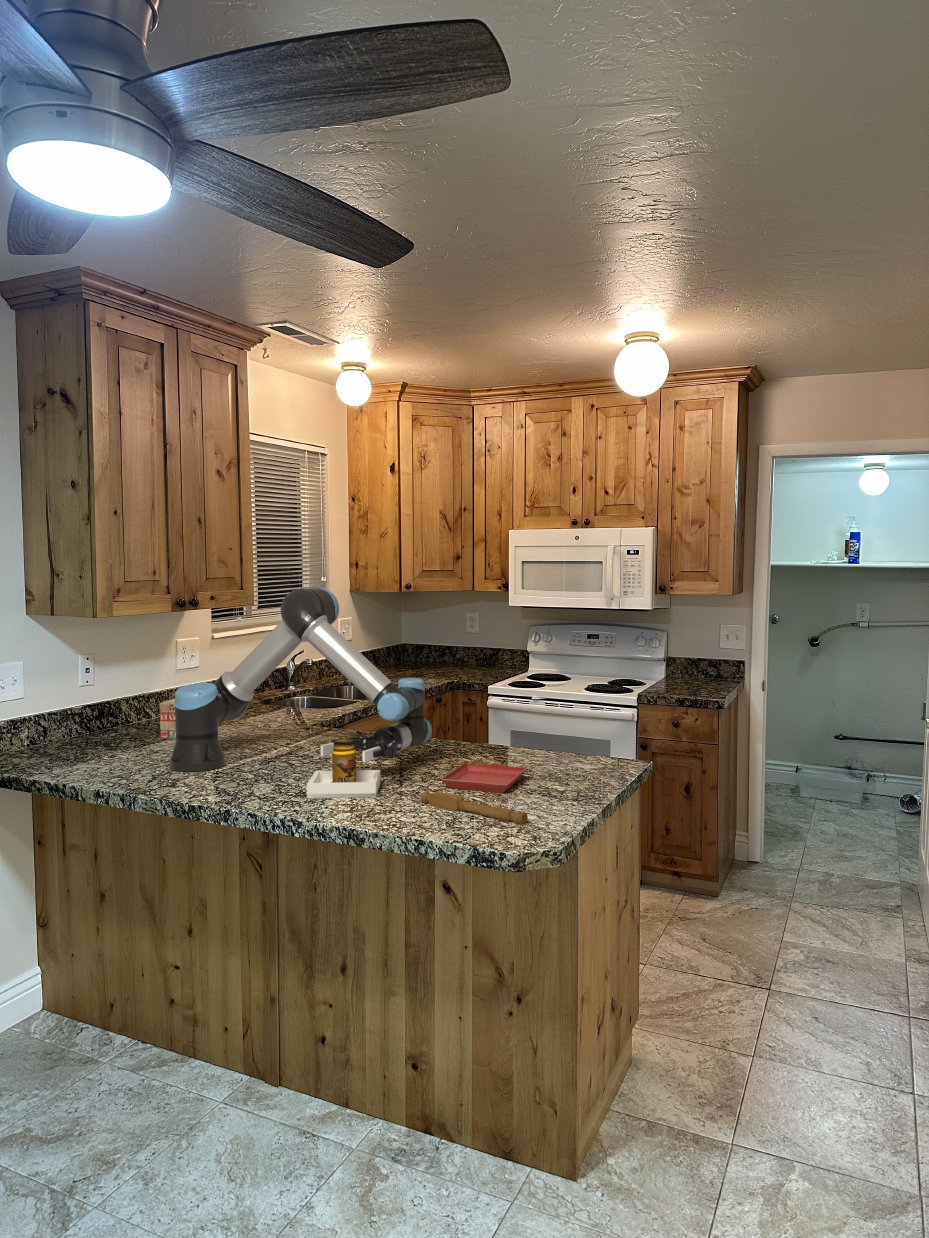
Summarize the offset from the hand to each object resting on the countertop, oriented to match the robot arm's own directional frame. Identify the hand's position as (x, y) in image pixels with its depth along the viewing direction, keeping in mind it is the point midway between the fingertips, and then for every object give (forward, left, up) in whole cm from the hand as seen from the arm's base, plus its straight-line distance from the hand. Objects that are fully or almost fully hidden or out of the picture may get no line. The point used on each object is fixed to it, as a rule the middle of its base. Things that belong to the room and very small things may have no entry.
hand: (342, 753), depth 211 cm
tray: (0, +1, -10) cm, 10 cm away
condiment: (0, +2, -9) cm, 9 cm away
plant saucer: (+36, +6, -10) cm, 38 cm away
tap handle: (+32, -20, -10) cm, 39 cm away
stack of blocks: (-65, +82, -10) cm, 105 cm away
